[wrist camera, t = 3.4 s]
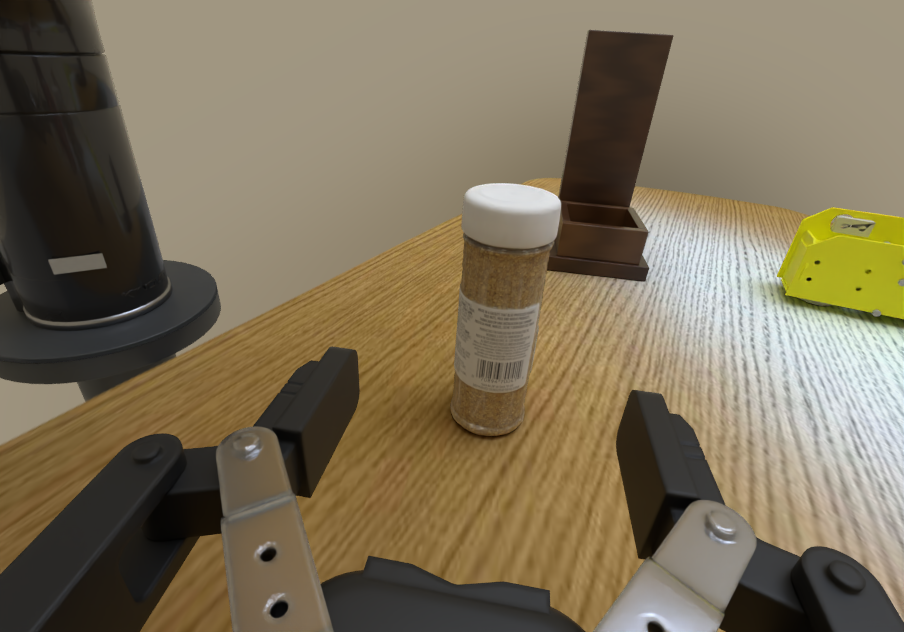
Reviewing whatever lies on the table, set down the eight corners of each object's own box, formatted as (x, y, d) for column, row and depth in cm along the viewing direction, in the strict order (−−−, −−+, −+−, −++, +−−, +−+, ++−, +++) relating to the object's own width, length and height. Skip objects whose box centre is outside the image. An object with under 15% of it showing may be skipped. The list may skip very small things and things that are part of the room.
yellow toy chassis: (967, 319, 43) (1028, 234, 39) (1001, 349, 38) (1075, 257, 34) (772, 281, 48) (808, 202, 44) (782, 303, 44) (823, 218, 39)
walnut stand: (545, 269, 47) (588, 22, 37) (543, 231, 58) (577, 30, 47) (645, 281, 46) (720, 30, 35) (625, 240, 56) (678, 36, 46)
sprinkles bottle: (527, 397, 29) (565, 186, 23) (518, 447, 26) (561, 212, 19) (458, 383, 30) (474, 176, 24) (439, 430, 26) (453, 199, 20)
